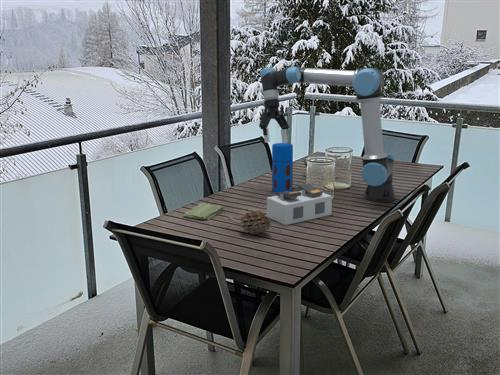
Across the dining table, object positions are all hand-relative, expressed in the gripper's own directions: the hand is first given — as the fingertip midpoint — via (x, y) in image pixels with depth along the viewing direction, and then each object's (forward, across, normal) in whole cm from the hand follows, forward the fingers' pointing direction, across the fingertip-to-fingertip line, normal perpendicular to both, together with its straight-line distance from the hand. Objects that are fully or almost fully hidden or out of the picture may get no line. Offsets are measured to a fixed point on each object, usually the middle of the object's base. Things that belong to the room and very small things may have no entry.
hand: (276, 142), depth 250 cm
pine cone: (+40, +41, +12) cm, 59 cm away
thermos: (+24, -17, -14) cm, 32 cm away
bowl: (+17, -55, -15) cm, 59 cm away
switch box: (+37, +10, +16) cm, 41 cm away
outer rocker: (+26, +18, +18) cm, 36 cm away
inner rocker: (+26, +6, +21) cm, 34 cm away
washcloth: (+31, +36, -18) cm, 51 cm away
